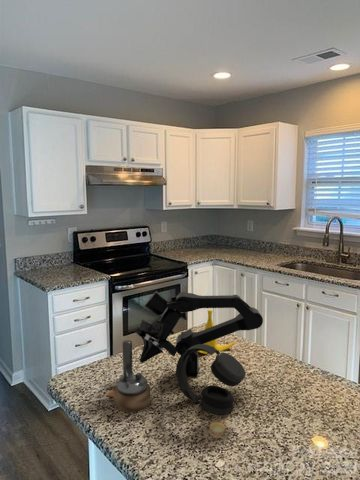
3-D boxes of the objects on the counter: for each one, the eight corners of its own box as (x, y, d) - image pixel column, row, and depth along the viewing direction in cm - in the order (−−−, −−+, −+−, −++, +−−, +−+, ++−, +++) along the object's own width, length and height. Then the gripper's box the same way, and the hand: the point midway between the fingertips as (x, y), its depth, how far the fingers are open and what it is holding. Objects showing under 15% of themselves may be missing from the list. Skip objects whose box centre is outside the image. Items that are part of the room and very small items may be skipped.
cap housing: (154, 394, 117) (154, 382, 116) (144, 413, 106) (144, 400, 105) (111, 389, 120) (111, 377, 119) (97, 408, 109) (97, 395, 108)
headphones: (252, 362, 107) (195, 330, 115) (242, 374, 99) (182, 339, 108) (234, 412, 111) (180, 377, 120) (223, 426, 104) (167, 389, 113)
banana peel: (236, 349, 151) (237, 310, 149) (196, 358, 143) (196, 317, 141) (216, 336, 166) (216, 300, 164) (178, 343, 158) (178, 306, 156)
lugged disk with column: (150, 403, 109) (149, 355, 108) (120, 408, 107) (119, 359, 105) (140, 381, 123) (139, 338, 121) (113, 385, 120) (112, 342, 118)
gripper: (139, 304, 131) (112, 341, 126) (169, 317, 116) (140, 360, 111) (157, 321, 137) (132, 357, 131) (188, 335, 122) (162, 377, 117)
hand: (140, 362), depth 122 cm, fingers closed
